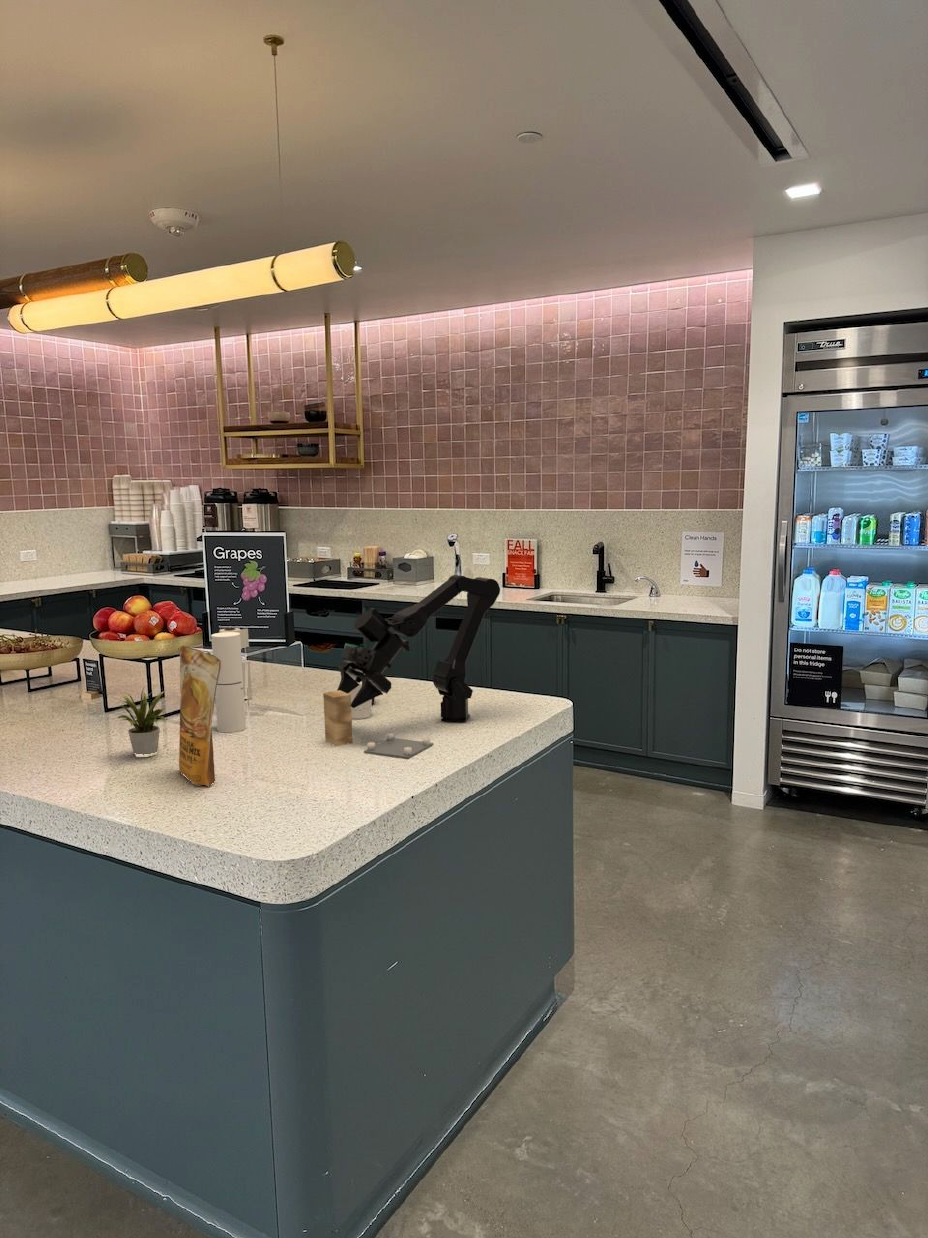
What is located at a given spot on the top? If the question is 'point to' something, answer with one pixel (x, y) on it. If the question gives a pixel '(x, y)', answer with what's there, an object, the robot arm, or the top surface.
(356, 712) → the white cup
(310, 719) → the top surface
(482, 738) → the top surface
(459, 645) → the robot arm
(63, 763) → the top surface
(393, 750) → the peg plate
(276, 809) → the top surface
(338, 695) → the wooden block
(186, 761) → the pancake mix bag
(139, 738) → the house plant
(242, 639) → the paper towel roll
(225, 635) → the cylindrical container
